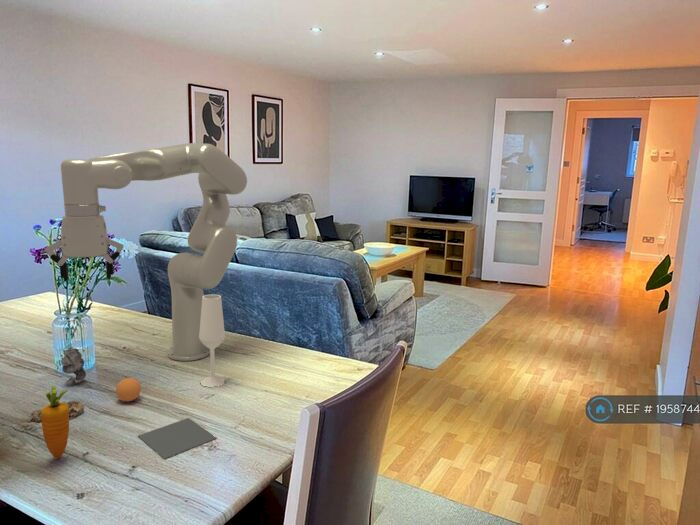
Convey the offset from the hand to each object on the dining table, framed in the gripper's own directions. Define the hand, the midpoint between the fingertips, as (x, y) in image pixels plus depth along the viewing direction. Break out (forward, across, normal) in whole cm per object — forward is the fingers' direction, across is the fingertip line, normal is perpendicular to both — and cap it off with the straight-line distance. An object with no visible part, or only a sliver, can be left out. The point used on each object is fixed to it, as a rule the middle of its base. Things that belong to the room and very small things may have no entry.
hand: (88, 278), depth 129 cm
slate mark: (+28, -18, +34) cm, 48 cm away
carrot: (+28, +4, +35) cm, 45 cm away
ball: (+26, -8, +12) cm, 30 cm away
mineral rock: (+29, +7, +15) cm, 33 cm away
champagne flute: (+30, -29, +6) cm, 42 cm away
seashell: (+29, +6, -3) cm, 29 cm away
